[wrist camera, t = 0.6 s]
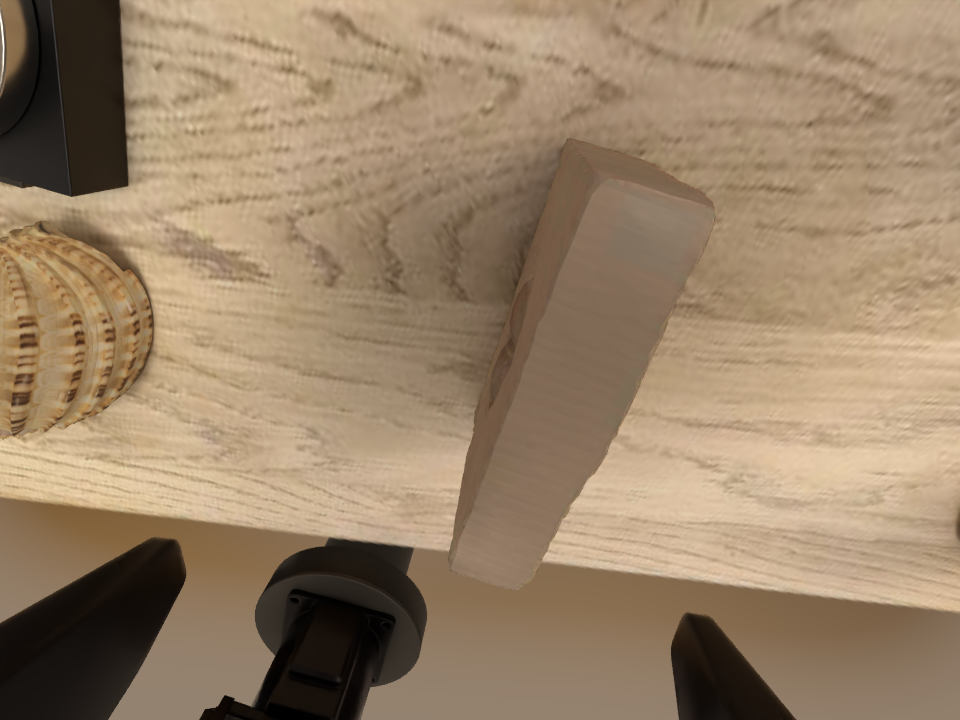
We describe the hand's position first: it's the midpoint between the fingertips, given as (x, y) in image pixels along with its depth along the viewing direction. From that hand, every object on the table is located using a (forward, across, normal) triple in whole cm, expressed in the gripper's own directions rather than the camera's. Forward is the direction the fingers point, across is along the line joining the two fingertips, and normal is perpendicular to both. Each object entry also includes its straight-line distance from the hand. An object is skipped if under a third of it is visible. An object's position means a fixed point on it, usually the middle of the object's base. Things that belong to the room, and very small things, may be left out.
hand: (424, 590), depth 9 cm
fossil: (+14, -3, -1) cm, 14 cm away
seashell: (+14, +19, +3) cm, 24 cm away
